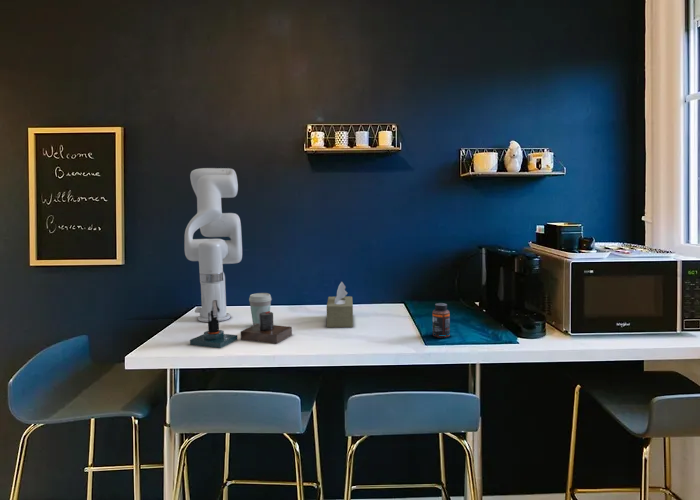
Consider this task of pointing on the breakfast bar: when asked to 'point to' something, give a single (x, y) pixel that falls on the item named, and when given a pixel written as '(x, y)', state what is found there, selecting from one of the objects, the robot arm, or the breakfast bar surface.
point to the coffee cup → (259, 305)
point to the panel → (266, 334)
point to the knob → (266, 321)
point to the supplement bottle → (441, 320)
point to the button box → (213, 339)
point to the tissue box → (340, 309)
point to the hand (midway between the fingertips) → (213, 331)
